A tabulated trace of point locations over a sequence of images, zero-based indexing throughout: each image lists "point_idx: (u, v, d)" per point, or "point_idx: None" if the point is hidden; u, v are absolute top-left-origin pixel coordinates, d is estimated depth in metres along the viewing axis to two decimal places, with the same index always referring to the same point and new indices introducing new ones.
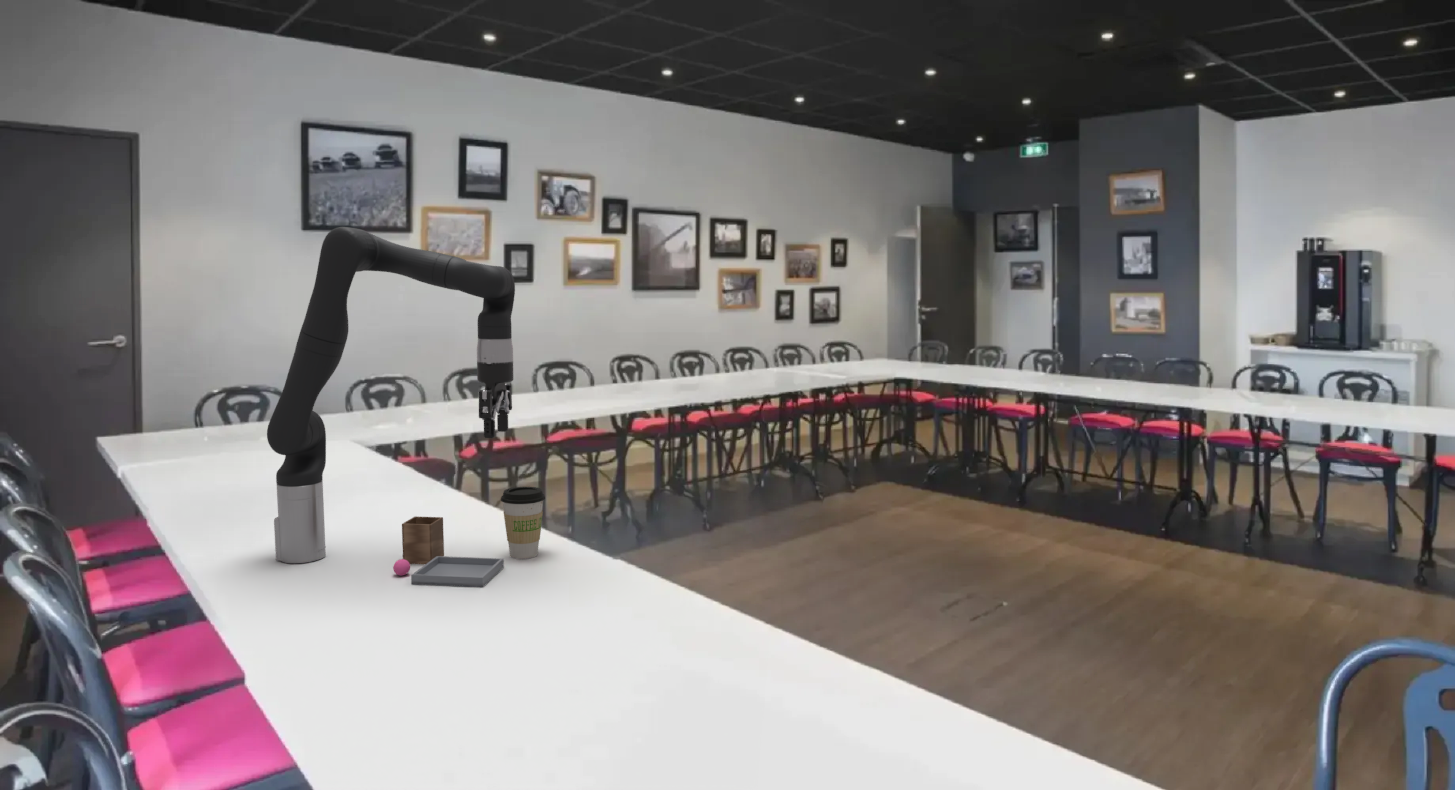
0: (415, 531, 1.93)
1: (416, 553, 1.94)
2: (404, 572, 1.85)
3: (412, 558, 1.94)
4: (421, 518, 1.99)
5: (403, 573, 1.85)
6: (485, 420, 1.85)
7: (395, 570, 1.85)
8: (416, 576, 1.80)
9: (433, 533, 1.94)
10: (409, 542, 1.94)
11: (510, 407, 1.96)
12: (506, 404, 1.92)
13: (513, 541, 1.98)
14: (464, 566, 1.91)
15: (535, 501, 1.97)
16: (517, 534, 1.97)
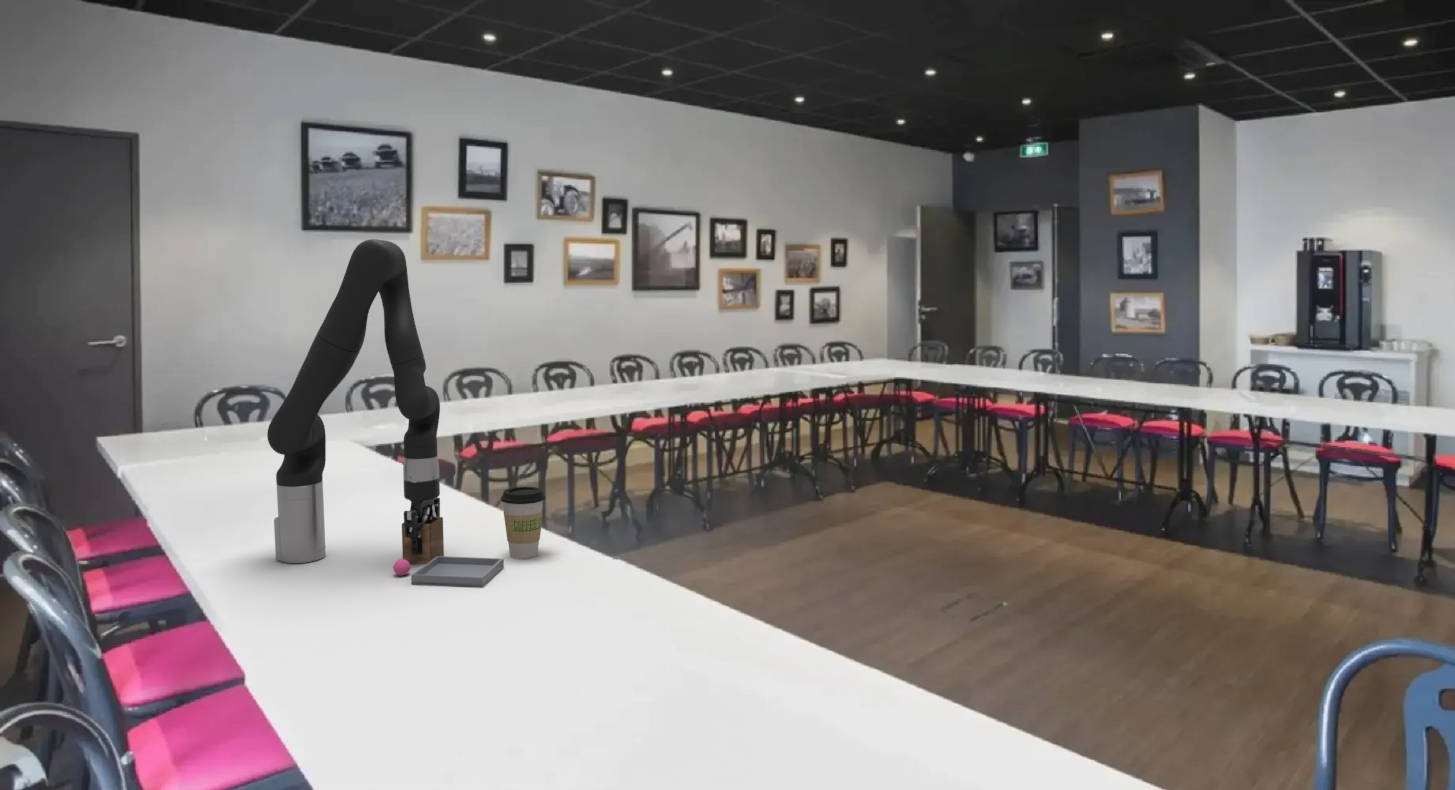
0: None
1: None
2: (404, 572, 1.85)
3: (412, 557, 1.94)
4: None
5: (403, 573, 1.85)
6: (412, 538, 1.92)
7: (395, 570, 1.85)
8: (416, 576, 1.80)
9: (433, 533, 1.94)
10: (409, 542, 1.94)
11: None
12: (433, 518, 1.98)
13: (513, 541, 1.98)
14: (464, 566, 1.91)
15: (535, 501, 1.97)
16: (517, 534, 1.97)
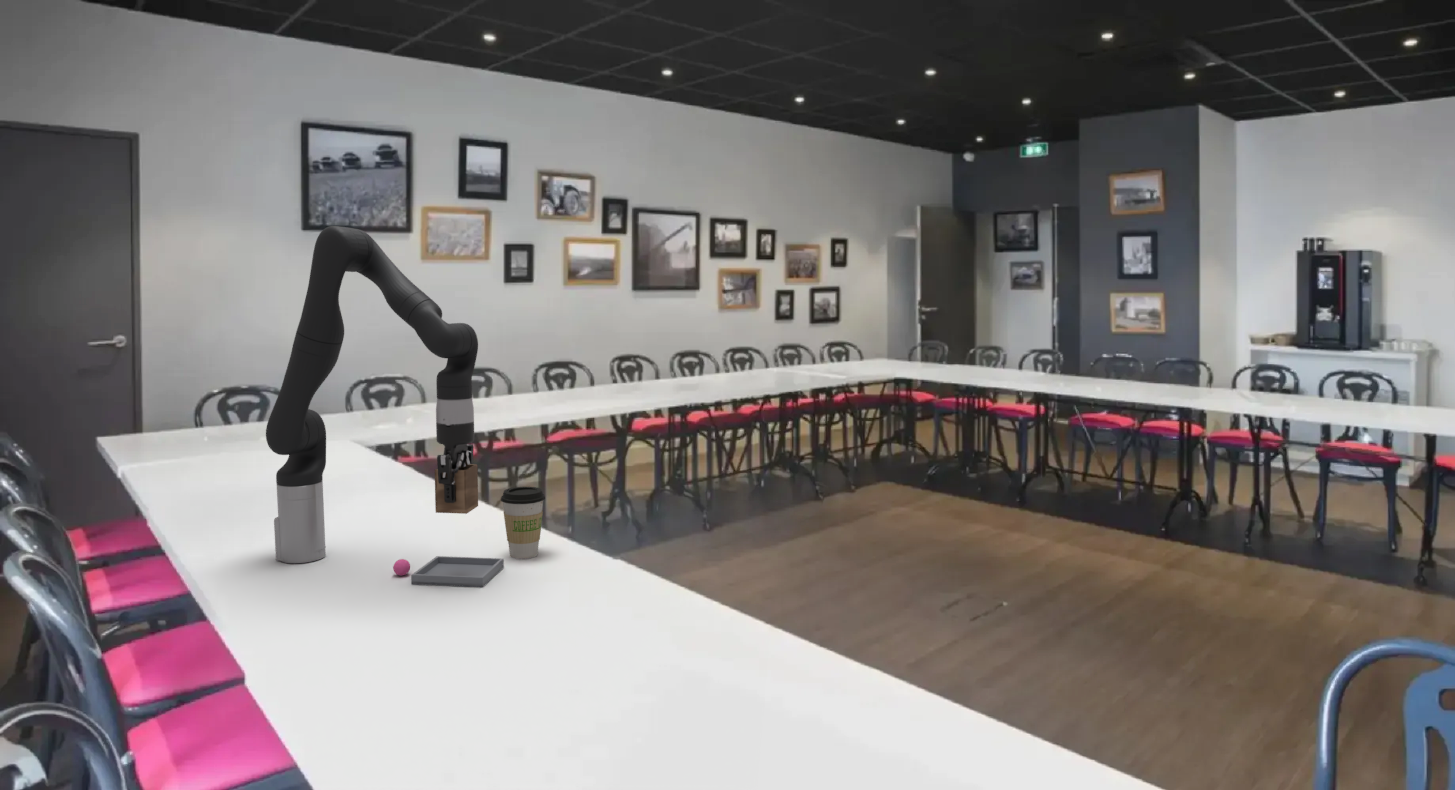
0: None
1: None
2: (404, 572, 1.85)
3: (446, 506, 1.81)
4: None
5: (403, 573, 1.85)
6: (445, 485, 1.79)
7: (395, 570, 1.85)
8: (416, 576, 1.80)
9: (468, 480, 1.82)
10: (442, 489, 1.81)
11: None
12: (467, 465, 1.86)
13: (513, 541, 1.98)
14: (464, 566, 1.91)
15: (535, 501, 1.97)
16: (517, 534, 1.97)
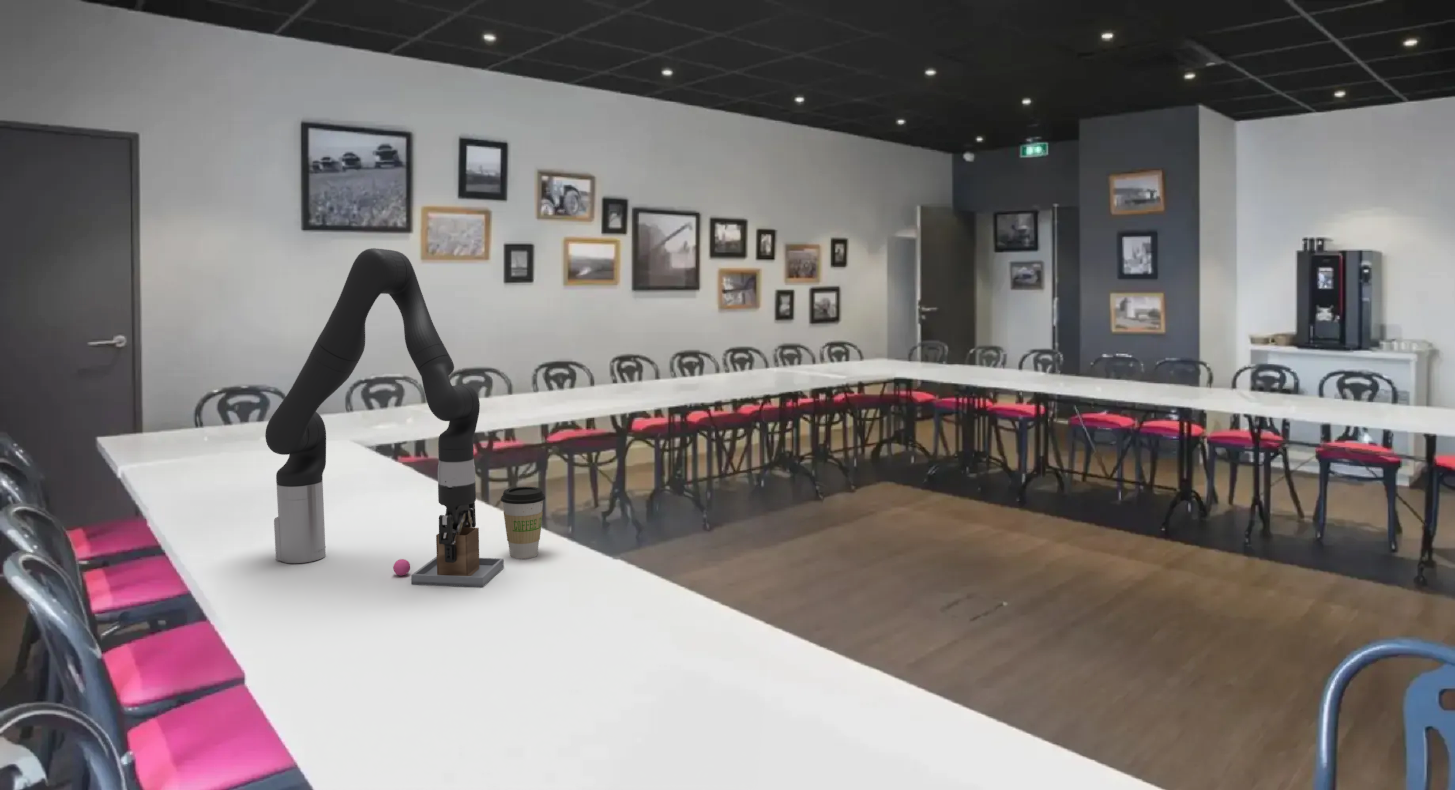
0: None
1: (451, 566, 1.83)
2: (404, 572, 1.85)
3: (447, 571, 1.83)
4: None
5: (403, 573, 1.85)
6: (446, 545, 1.80)
7: (395, 570, 1.85)
8: (416, 576, 1.80)
9: (469, 545, 1.83)
10: (444, 554, 1.83)
11: (474, 524, 1.91)
12: (469, 524, 1.88)
13: (513, 541, 1.98)
14: None
15: (535, 501, 1.97)
16: (517, 534, 1.97)
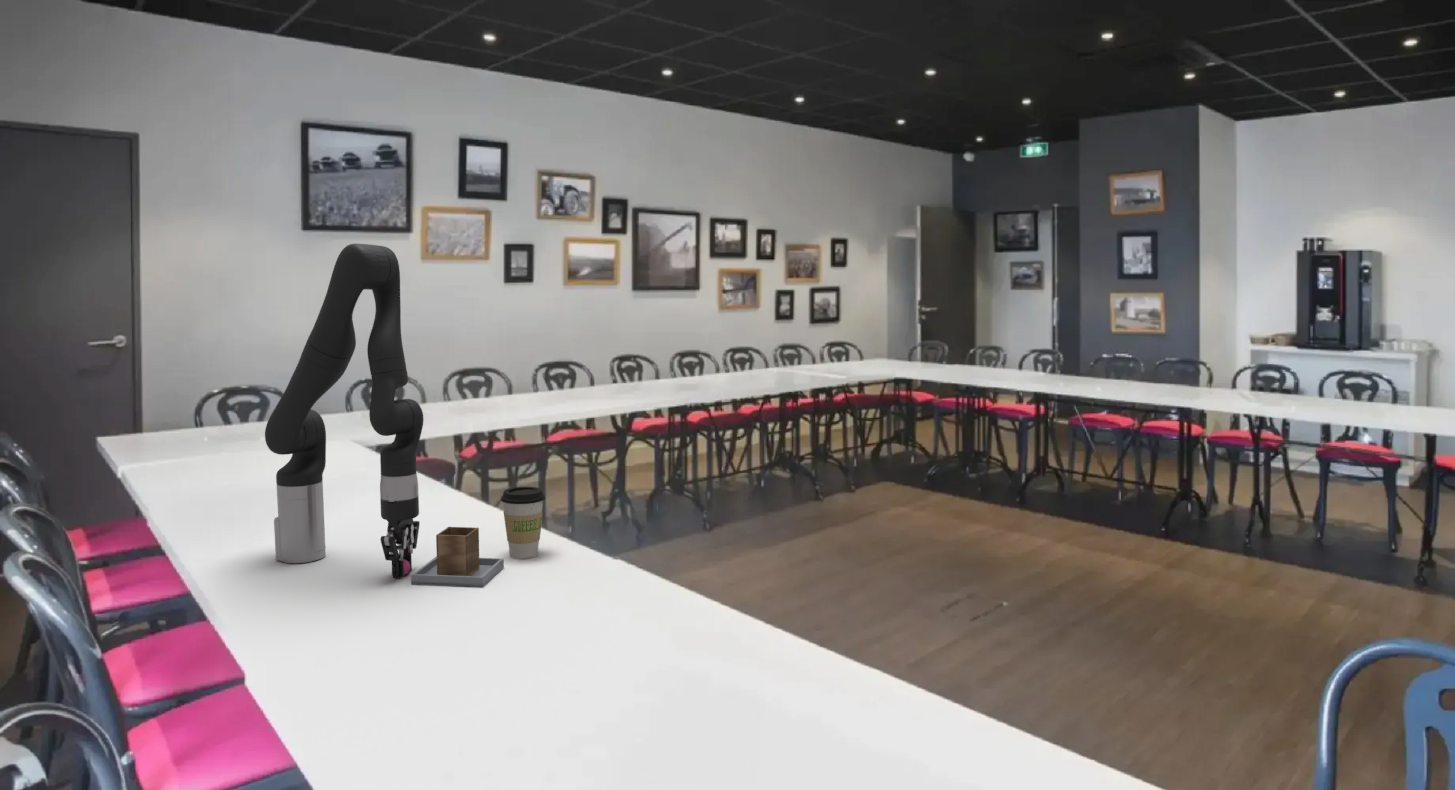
0: (450, 543, 1.82)
1: (451, 566, 1.83)
2: (404, 572, 1.85)
3: (447, 571, 1.83)
4: (455, 528, 1.88)
5: None
6: (393, 561, 1.83)
7: None
8: (416, 576, 1.80)
9: (469, 545, 1.83)
10: (444, 554, 1.83)
11: (414, 546, 1.89)
12: (410, 541, 1.87)
13: (513, 541, 1.98)
14: None
15: (535, 501, 1.97)
16: (517, 534, 1.97)
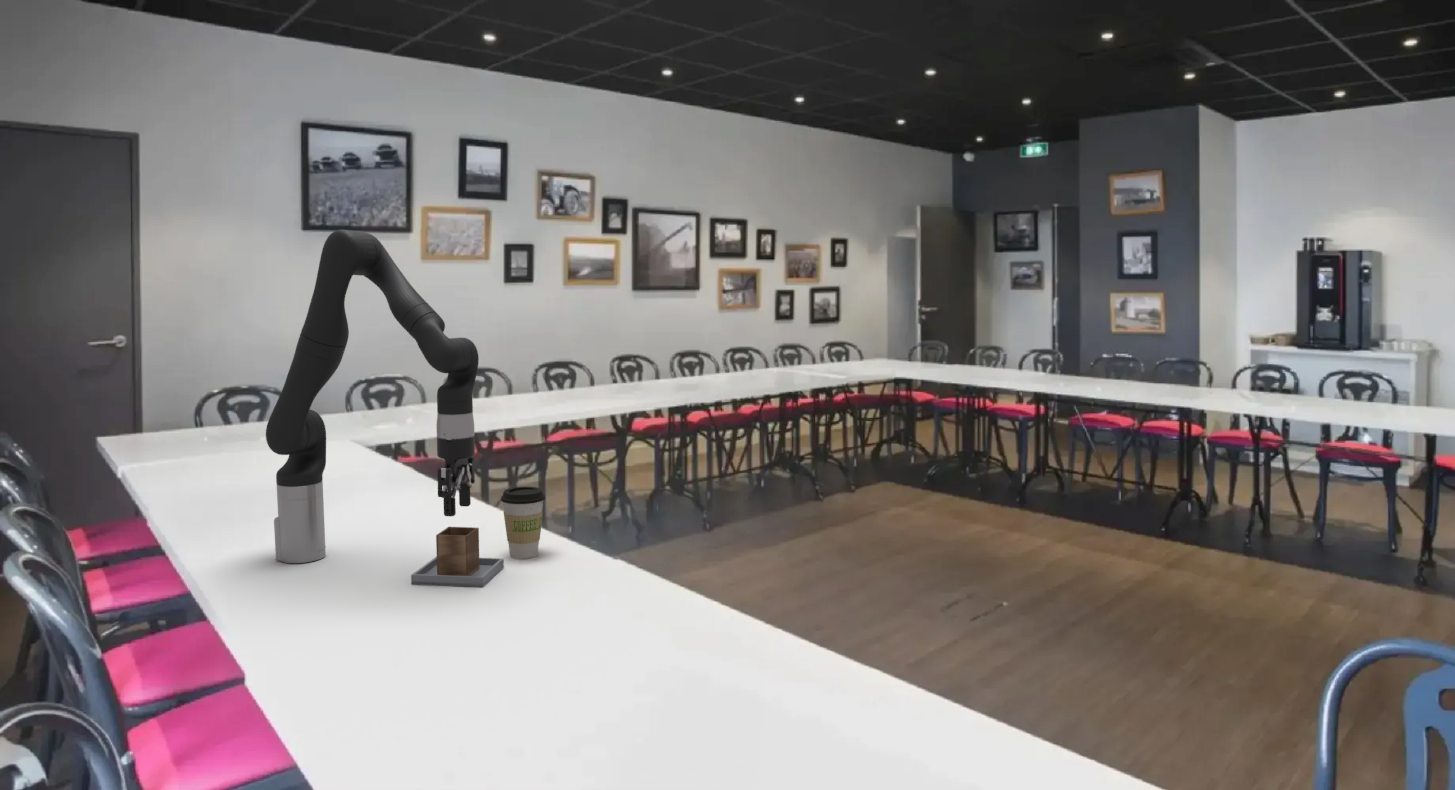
0: (450, 543, 1.82)
1: (451, 566, 1.83)
2: None
3: (447, 571, 1.83)
4: (455, 528, 1.88)
5: None
6: (445, 498, 1.79)
7: None
8: (416, 576, 1.80)
9: (469, 545, 1.83)
10: (444, 554, 1.83)
11: (472, 480, 1.90)
12: (468, 479, 1.86)
13: (513, 541, 1.98)
14: None
15: (535, 501, 1.97)
16: (517, 534, 1.97)
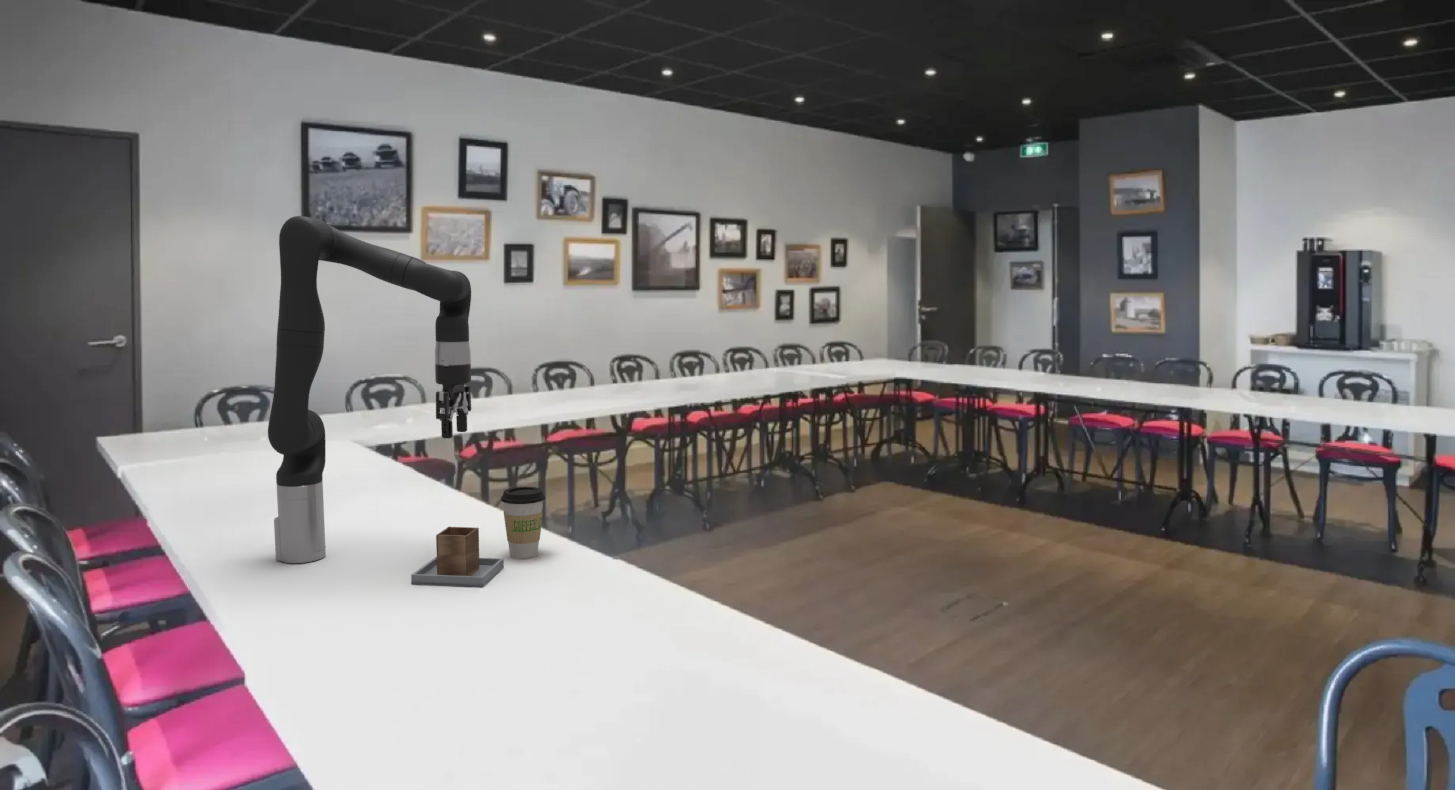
0: (450, 543, 1.82)
1: (451, 566, 1.83)
2: None
3: (447, 571, 1.83)
4: (455, 528, 1.88)
5: None
6: (442, 421, 1.90)
7: None
8: (416, 576, 1.80)
9: (469, 545, 1.83)
10: (444, 554, 1.83)
11: (469, 408, 2.01)
12: (464, 405, 1.97)
13: (513, 541, 1.98)
14: None
15: (535, 501, 1.97)
16: (517, 534, 1.97)
